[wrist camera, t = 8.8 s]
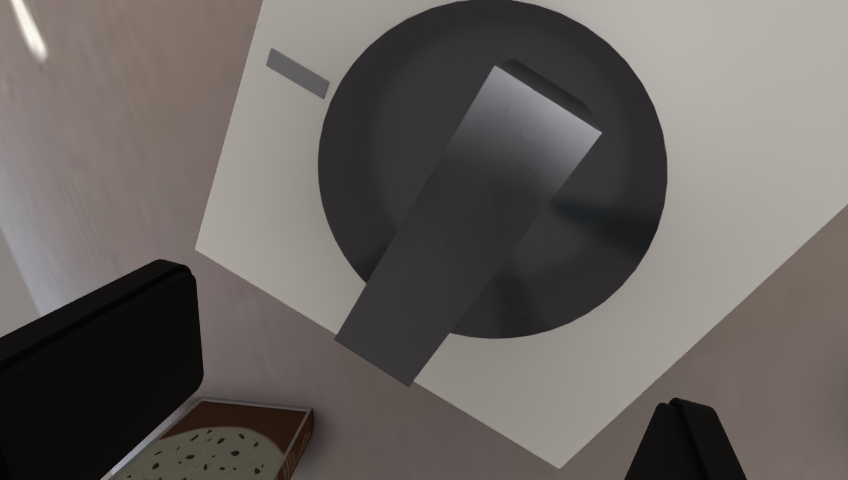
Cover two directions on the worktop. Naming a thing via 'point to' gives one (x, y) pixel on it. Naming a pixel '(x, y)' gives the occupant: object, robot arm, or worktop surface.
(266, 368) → the worktop surface
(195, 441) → the food container
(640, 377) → the dial plate
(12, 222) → the worktop surface
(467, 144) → the dial
